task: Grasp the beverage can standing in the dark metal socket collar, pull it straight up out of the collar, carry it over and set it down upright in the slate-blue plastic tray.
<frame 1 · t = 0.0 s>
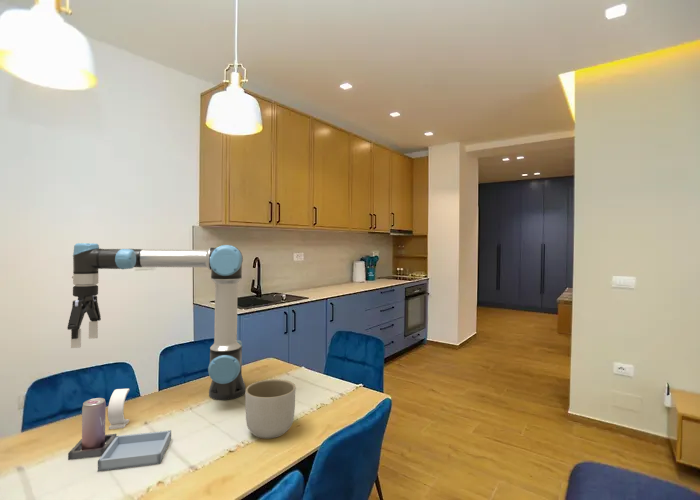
hand: (84, 342, 132), 28 cm above the table, fingers open, 13 cm apart
socket collar: (93, 449, 112), on the table
white curved strip: (118, 426, 127), on the table
tray: (137, 454, 110), on the table
planter: (270, 432, 125), on the table
beverage can: (93, 450, 112), resting in socket collar
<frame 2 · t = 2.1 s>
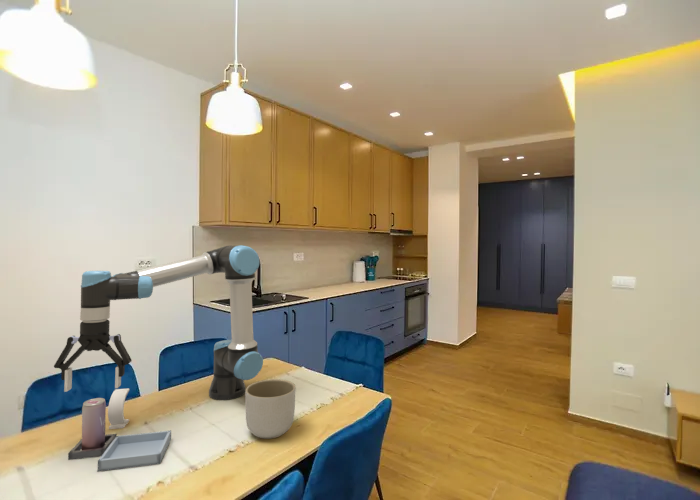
hand: (93, 388, 112), 19 cm above the table, fingers open, 13 cm apart
nothing on the table moved.
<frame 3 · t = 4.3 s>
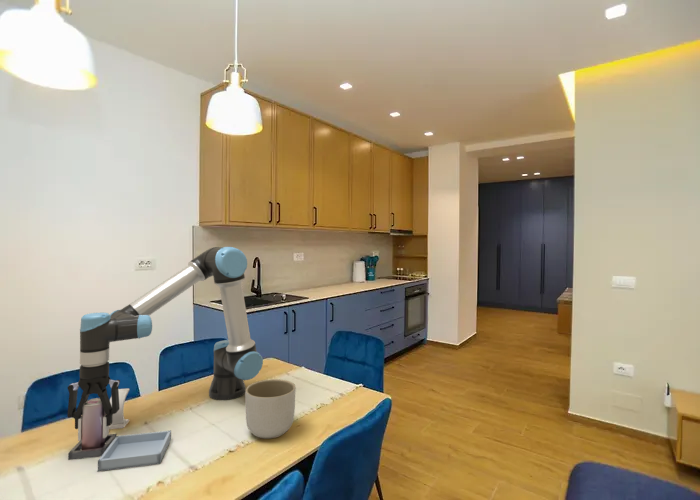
hand: (93, 436, 112), 4 cm above the table, fingers closed on beverage can, 6 cm apart
beverage can: (93, 450, 112), resting in socket collar, touching gripper
everything else where it was.
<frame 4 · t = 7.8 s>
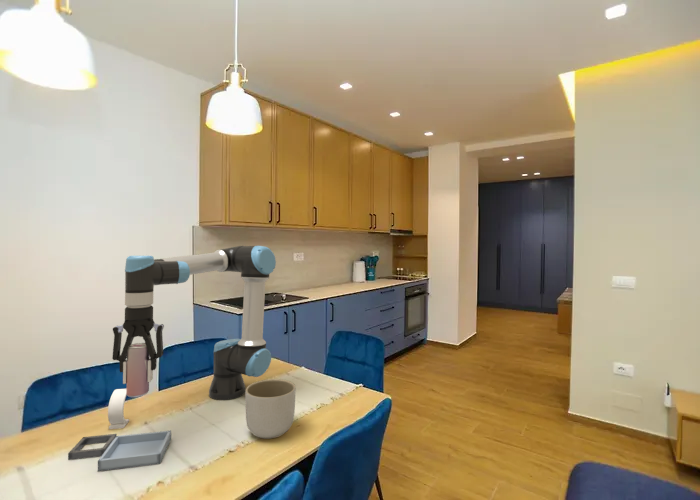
hand: (138, 381, 110), 22 cm above the table, fingers closed on beverage can, 6 cm apart
beverage can: (137, 394, 110), point 18 cm above the table, touching gripper
everything else where it was.
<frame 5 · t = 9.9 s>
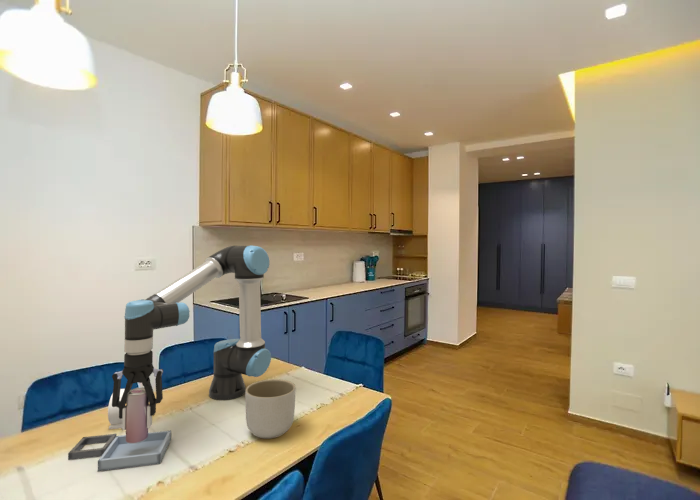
hand: (137, 427, 110), 8 cm above the table, fingers closed on beverage can, 6 cm apart
beverage can: (137, 440, 110), point 4 cm above the table, touching gripper
everything else where it was.
when the fingers open (6 cm above the table, at t = 11.3 s): beverage can drops 1 cm, resting on tray.
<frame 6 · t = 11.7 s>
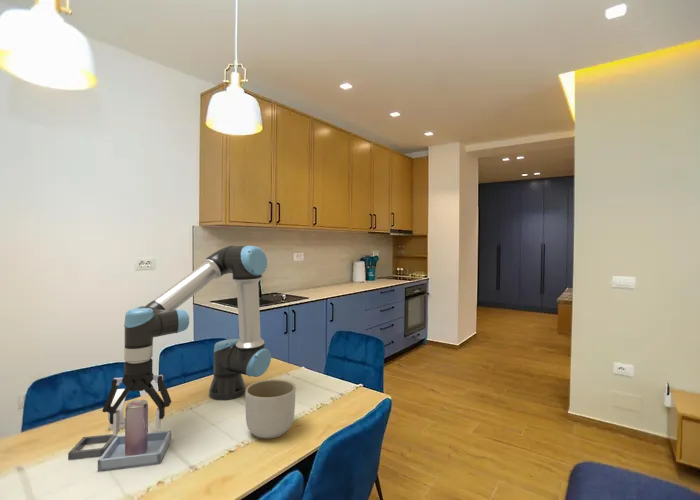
hand: (137, 431, 110), 7 cm above the table, fingers open, 11 cm apart
beverage can: (136, 453, 110), resting on tray
everything else where it was.
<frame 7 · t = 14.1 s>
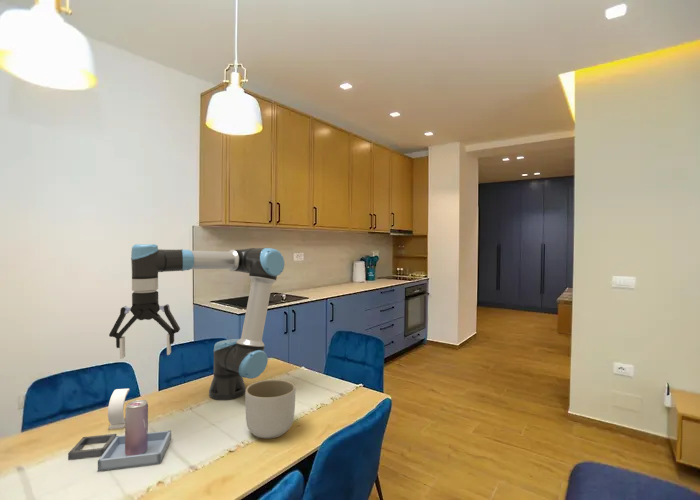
hand: (146, 355, 118), 28 cm above the table, fingers open, 13 cm apart
nothing on the table moved.
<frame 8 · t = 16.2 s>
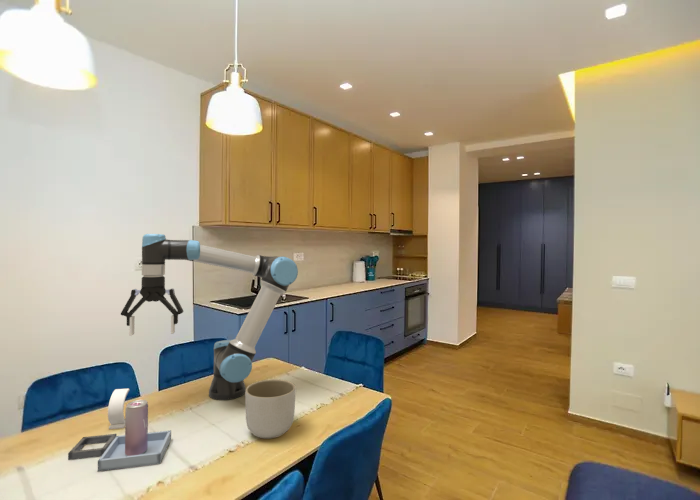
hand: (152, 333, 132), 32 cm above the table, fingers open, 13 cm apart
nothing on the table moved.
at the end: beverage can inside the target area on the tray (0.3 cm from its centre), point 0.4 cm above the tray's base; beverage can tilted 0°; the gripper is holding nothing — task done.
